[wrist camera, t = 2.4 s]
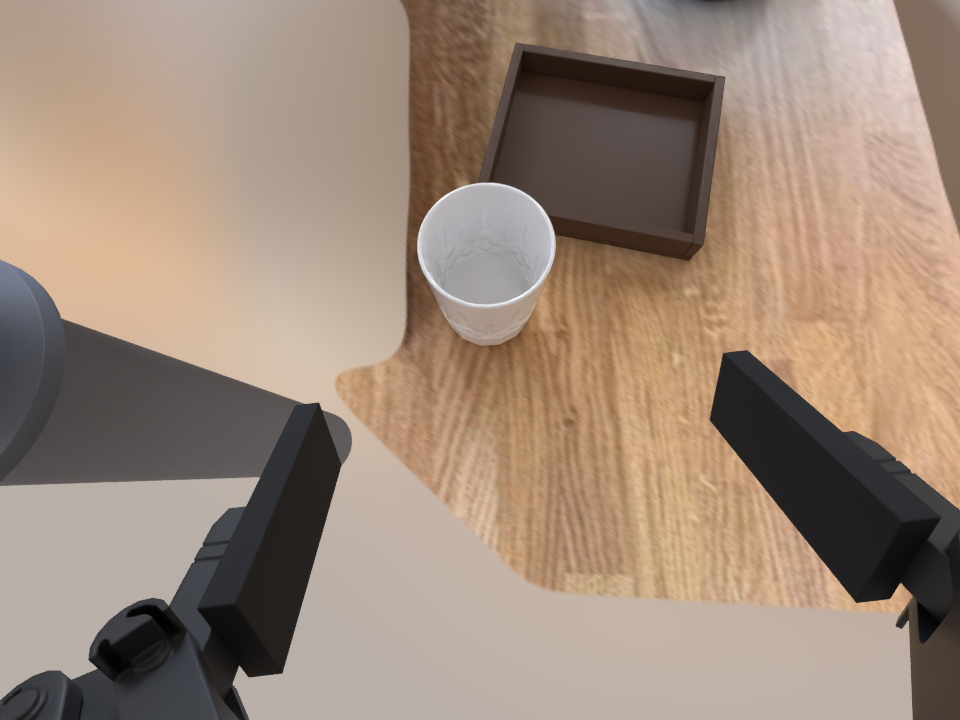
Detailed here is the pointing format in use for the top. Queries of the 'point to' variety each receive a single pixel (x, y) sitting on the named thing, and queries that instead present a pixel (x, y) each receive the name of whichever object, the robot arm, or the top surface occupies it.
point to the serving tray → (609, 147)
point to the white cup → (486, 259)
